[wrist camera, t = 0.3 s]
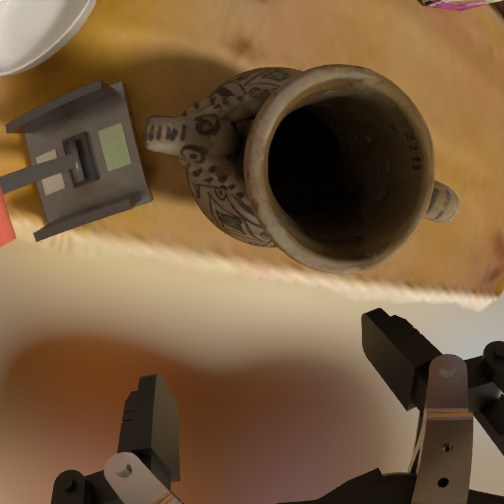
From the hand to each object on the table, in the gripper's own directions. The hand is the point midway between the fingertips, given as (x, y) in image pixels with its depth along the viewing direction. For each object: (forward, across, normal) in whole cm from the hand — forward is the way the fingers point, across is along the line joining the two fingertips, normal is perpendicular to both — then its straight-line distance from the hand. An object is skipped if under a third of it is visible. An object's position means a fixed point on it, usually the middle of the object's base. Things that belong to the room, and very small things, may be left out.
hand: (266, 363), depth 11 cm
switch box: (+29, +14, -11) cm, 34 cm away
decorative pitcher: (+30, -7, -5) cm, 31 cm away
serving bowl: (+30, +17, -34) cm, 48 cm away
